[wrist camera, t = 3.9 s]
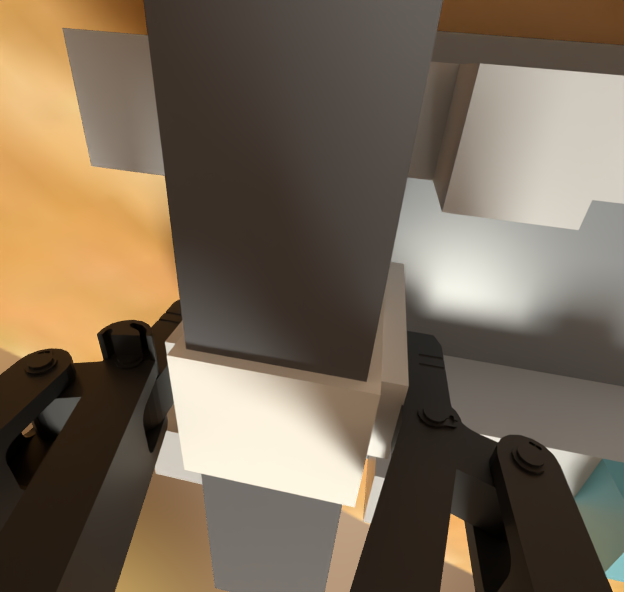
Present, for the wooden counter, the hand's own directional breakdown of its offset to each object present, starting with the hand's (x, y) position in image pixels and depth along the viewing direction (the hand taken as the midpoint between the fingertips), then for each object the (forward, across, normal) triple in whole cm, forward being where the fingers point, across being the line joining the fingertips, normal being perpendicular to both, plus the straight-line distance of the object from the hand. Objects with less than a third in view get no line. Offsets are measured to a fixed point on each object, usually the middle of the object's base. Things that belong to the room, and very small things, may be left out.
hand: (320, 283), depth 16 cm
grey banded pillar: (-3, 0, 0) cm, 3 cm away
